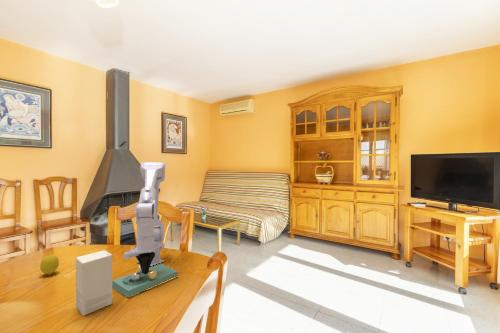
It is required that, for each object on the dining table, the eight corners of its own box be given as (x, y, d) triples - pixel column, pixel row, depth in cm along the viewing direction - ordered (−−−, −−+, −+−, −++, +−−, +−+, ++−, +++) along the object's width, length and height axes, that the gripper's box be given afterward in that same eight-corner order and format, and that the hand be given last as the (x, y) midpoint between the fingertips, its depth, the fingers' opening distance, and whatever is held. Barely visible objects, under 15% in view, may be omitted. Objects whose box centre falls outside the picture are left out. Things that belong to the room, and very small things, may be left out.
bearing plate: (160, 269, 101) (161, 263, 101) (177, 277, 95) (177, 271, 95) (112, 287, 86) (112, 280, 86) (128, 298, 80) (128, 290, 80)
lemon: (48, 278, 92) (48, 257, 92) (36, 277, 93) (36, 255, 93) (62, 272, 97) (62, 252, 97) (50, 270, 98) (51, 250, 98)
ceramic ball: (136, 271, 93) (136, 263, 93) (144, 268, 96) (144, 260, 96) (141, 274, 92) (141, 265, 91) (149, 271, 94) (149, 262, 94)
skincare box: (105, 297, 80) (105, 249, 80) (113, 304, 76) (114, 254, 76) (74, 308, 74) (74, 256, 74) (82, 317, 70) (82, 262, 69)
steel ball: (128, 279, 87) (131, 270, 87) (136, 279, 89) (140, 270, 90) (131, 283, 85) (135, 273, 85) (140, 283, 87) (144, 274, 88)
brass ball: (144, 277, 87) (147, 268, 88) (151, 278, 89) (155, 269, 90) (149, 280, 85) (152, 270, 86) (156, 281, 87) (160, 271, 88)
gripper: (131, 242, 81) (131, 283, 82) (169, 233, 93) (169, 269, 93) (121, 238, 86) (120, 277, 86) (158, 230, 97) (158, 264, 97)
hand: (145, 273), depth 90 cm, fingers closed
